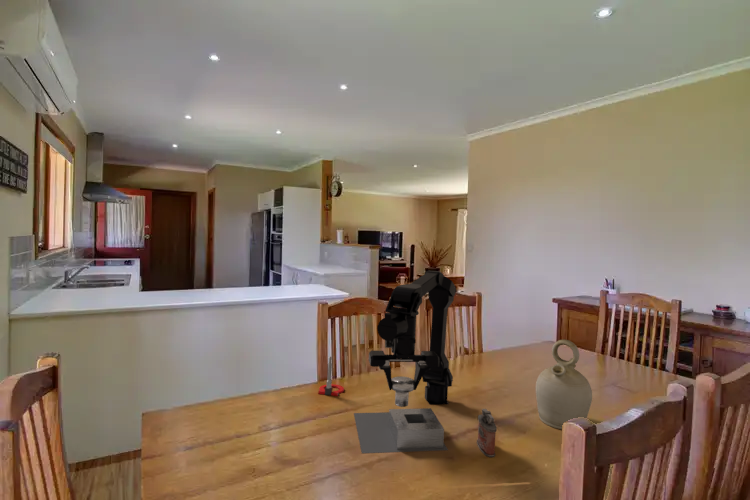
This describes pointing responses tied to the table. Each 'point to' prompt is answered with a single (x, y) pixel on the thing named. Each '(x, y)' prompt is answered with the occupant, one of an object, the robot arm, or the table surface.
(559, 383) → the jug
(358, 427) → the mat
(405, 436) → the hitch block
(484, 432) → the lighter
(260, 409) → the table surface
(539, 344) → the table surface
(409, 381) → the silver door knob
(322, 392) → the tow hook
